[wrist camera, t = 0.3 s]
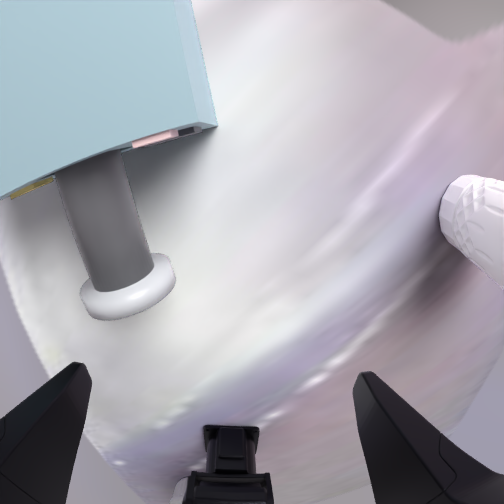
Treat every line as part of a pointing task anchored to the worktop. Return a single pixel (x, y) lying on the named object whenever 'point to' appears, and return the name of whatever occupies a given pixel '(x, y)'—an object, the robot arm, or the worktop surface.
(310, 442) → the worktop surface
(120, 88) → the socket block
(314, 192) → the worktop surface
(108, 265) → the plug
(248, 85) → the worktop surface
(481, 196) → the white cup
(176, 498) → the ramekin
